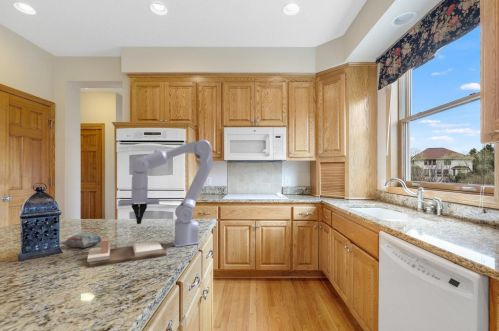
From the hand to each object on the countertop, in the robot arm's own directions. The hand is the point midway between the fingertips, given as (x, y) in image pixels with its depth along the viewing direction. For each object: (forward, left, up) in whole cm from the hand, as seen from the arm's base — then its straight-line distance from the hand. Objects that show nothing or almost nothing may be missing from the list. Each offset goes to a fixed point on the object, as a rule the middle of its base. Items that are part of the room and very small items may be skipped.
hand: (138, 223), depth 95 cm
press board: (+4, +7, -9) cm, 12 cm away
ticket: (-2, +7, -9) cm, 12 cm away
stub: (+13, +7, -8) cm, 17 cm away
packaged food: (+19, -12, -10) cm, 25 cm away
